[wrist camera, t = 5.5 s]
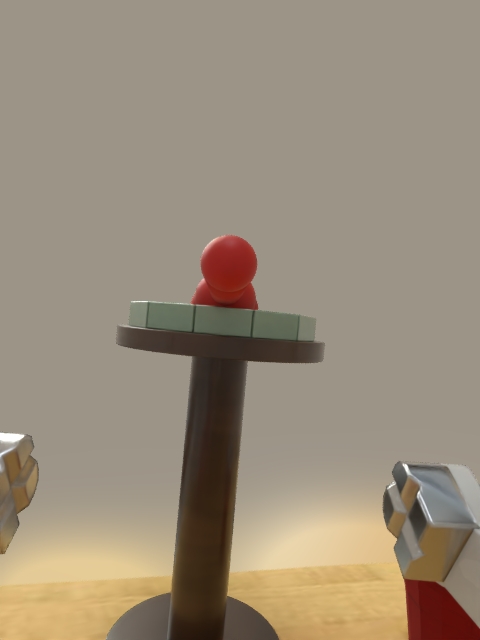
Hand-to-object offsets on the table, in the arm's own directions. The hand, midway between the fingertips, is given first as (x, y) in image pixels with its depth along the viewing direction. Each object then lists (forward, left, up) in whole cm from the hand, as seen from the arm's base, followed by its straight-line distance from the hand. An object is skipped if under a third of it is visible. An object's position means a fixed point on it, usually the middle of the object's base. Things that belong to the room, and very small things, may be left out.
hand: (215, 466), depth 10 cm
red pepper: (-5, -17, +3) cm, 18 cm away
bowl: (-6, -23, +3) cm, 24 cm away
